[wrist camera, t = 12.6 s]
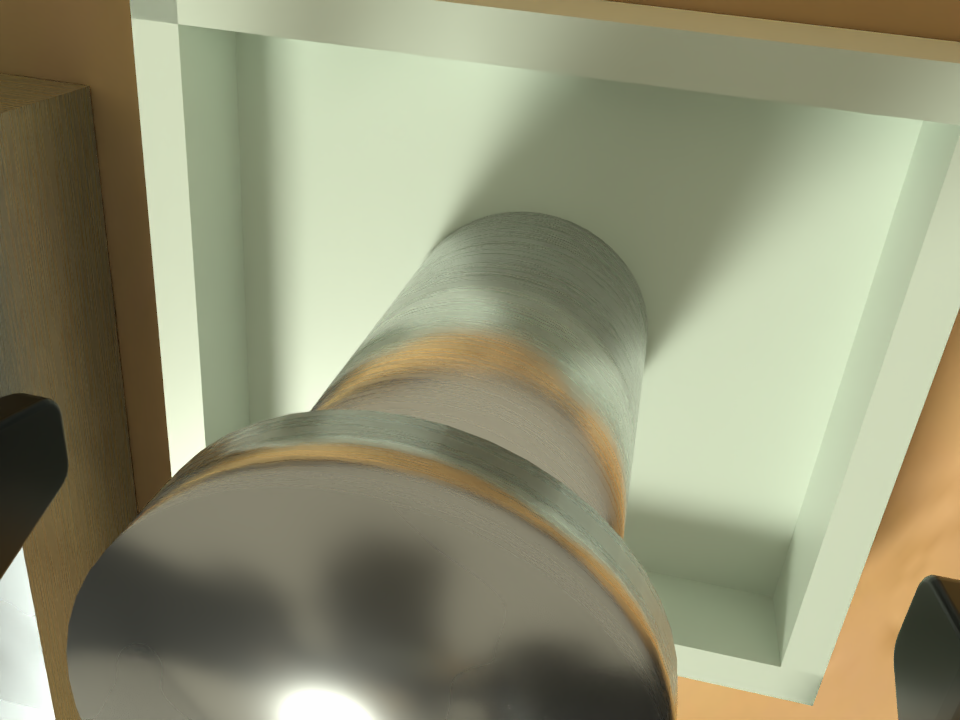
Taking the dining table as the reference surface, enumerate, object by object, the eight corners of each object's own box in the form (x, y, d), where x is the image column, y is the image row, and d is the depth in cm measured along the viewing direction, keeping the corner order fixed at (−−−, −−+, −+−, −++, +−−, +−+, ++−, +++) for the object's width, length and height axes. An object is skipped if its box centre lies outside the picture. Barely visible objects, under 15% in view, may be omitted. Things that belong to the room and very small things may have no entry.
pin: (719, 199, 12) (744, 575, 5) (655, 487, 14) (616, 1010, 7) (380, 149, 12) (25, 427, 6) (370, 431, 15) (101, 863, 8)
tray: (990, 45, 11) (1046, 74, 9) (799, 612, 15) (812, 705, 13) (207, -47, 12) (126, -37, 10) (234, 493, 16) (179, 564, 15)
